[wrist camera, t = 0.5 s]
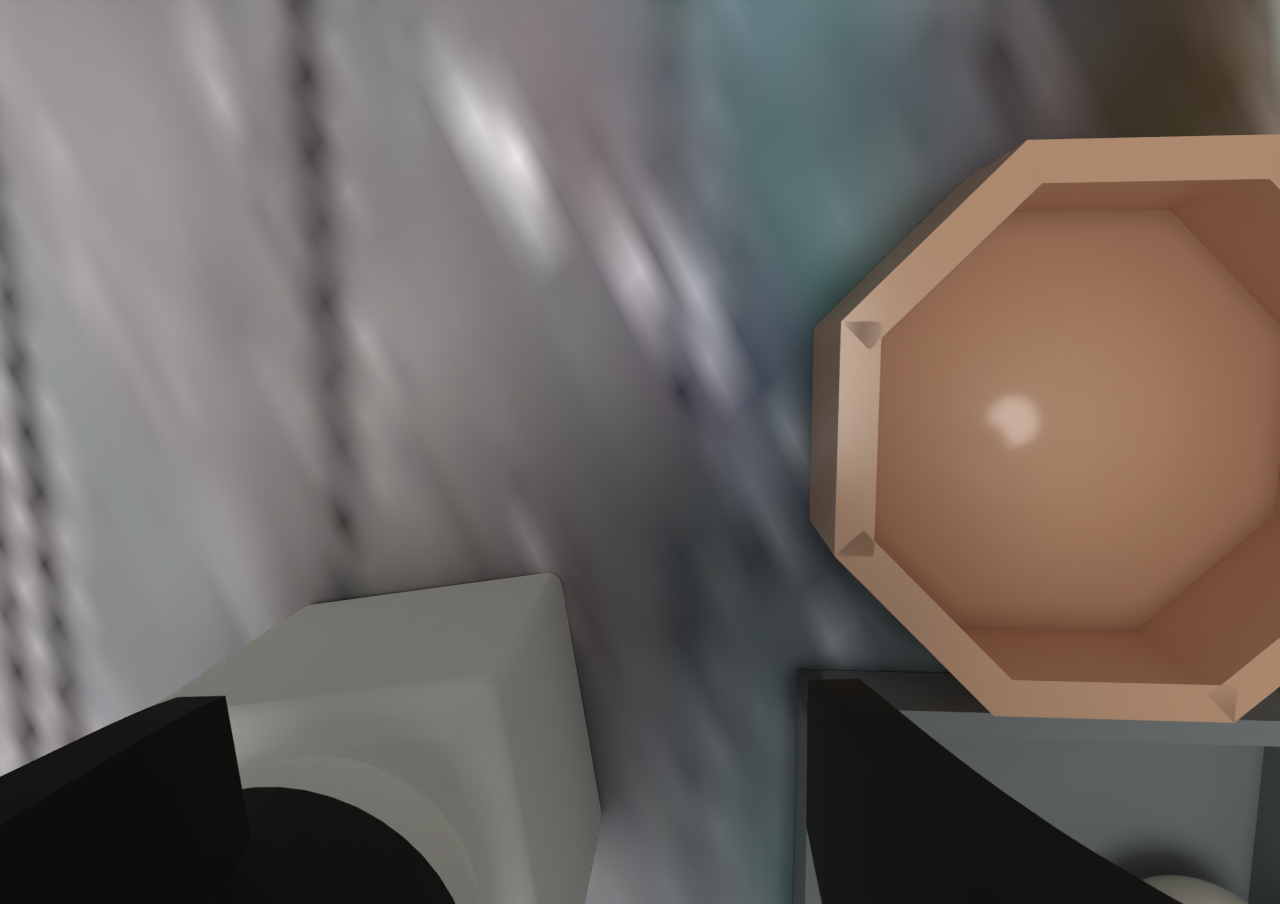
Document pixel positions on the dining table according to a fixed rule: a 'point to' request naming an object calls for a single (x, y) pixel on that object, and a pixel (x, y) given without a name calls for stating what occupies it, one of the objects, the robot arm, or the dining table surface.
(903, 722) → the robot arm
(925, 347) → the bowl
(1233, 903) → the cream pebble
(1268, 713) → the parts tray
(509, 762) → the medicine bottle
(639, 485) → the dining table surface
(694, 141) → the dining table surface
